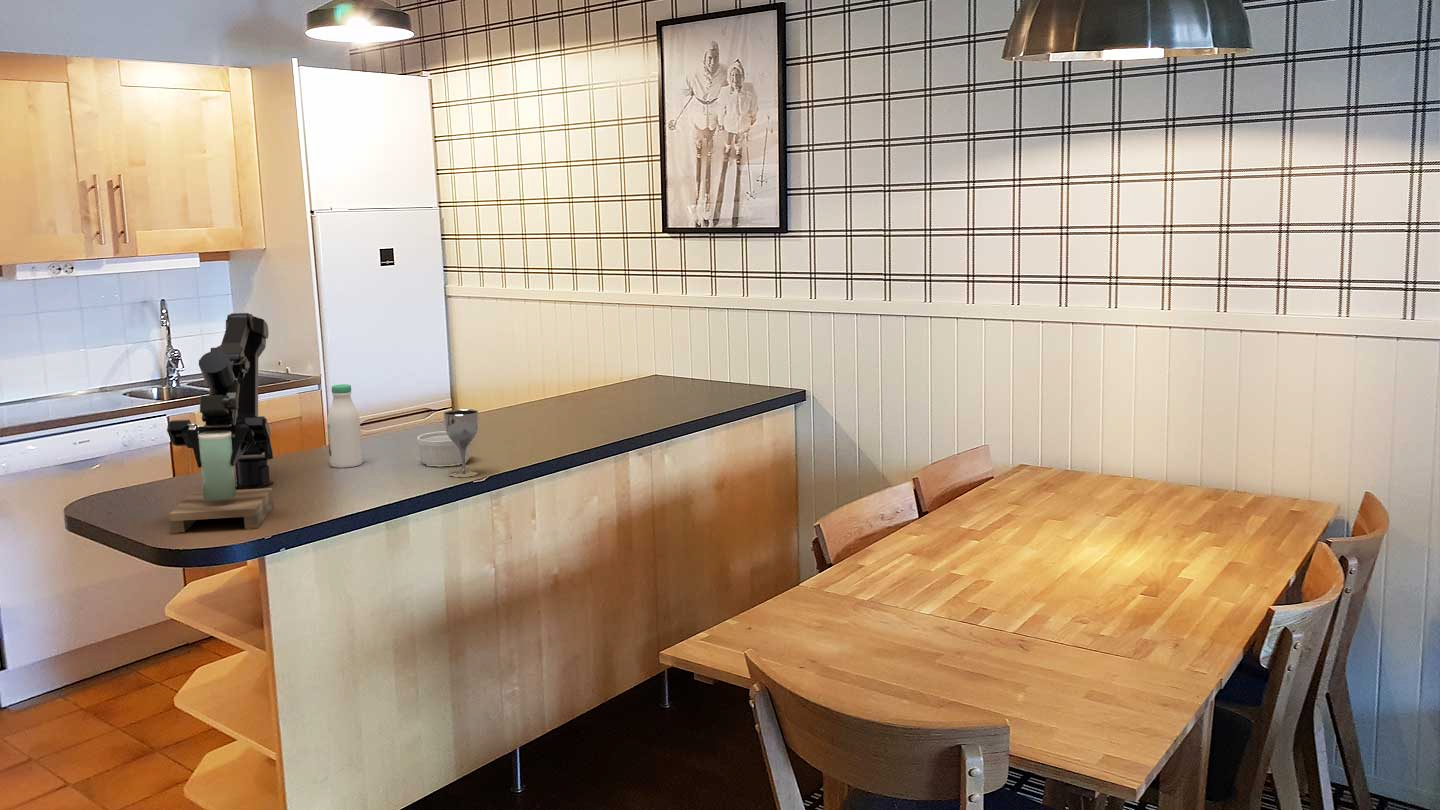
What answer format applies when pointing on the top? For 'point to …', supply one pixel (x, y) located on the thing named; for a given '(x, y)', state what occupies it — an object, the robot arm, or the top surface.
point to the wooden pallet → (223, 508)
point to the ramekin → (439, 449)
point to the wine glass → (461, 430)
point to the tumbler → (217, 465)
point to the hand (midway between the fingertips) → (215, 465)
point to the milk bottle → (344, 429)
